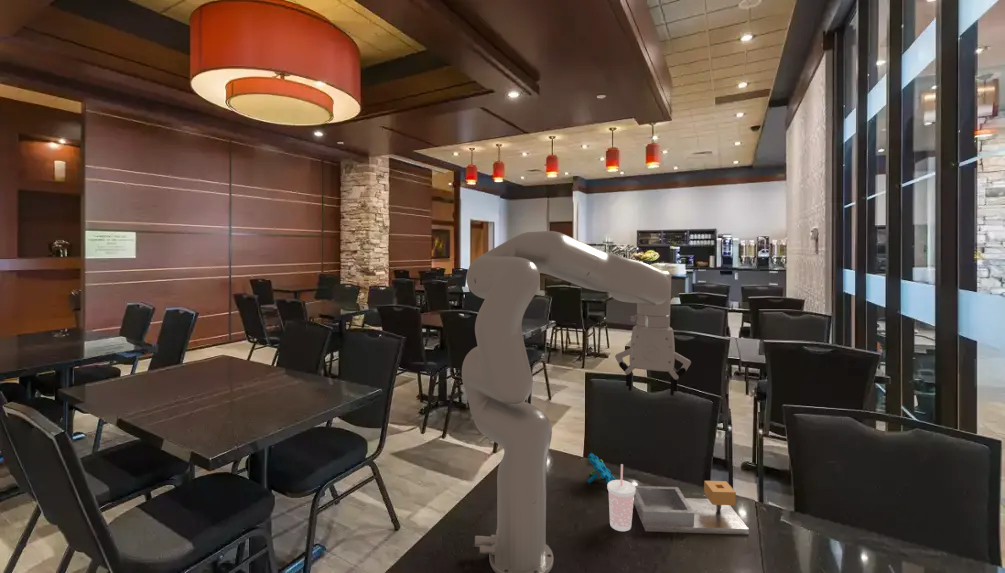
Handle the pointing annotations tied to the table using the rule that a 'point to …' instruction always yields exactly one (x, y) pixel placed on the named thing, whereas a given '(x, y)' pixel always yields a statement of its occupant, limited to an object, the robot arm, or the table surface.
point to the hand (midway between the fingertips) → (651, 391)
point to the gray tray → (684, 513)
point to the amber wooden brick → (719, 493)
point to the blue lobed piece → (599, 469)
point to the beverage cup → (621, 503)
